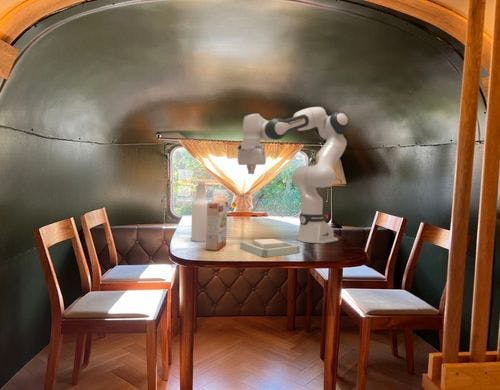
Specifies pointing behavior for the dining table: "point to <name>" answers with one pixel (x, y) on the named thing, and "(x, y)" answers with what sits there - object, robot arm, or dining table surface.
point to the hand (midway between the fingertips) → (251, 173)
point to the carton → (268, 243)
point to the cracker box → (216, 225)
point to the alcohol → (199, 214)
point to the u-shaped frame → (271, 252)
